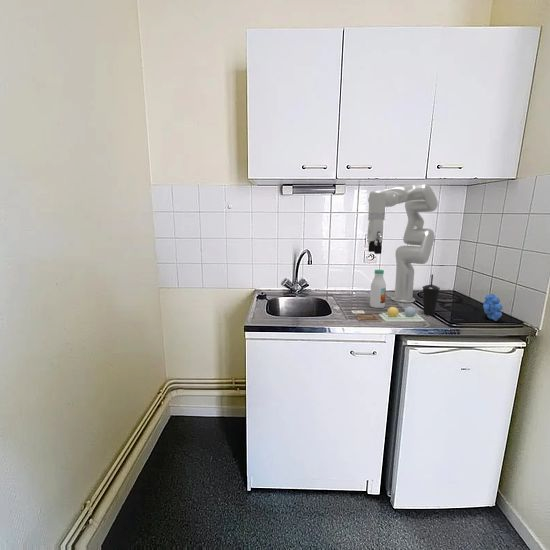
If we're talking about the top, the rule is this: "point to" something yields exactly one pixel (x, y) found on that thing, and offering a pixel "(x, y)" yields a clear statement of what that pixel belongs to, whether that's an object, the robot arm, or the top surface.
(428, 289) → the drinking cup
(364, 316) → the coaster
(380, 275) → the milk bottle
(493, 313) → the grapes
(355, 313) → the tile
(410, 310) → the slate ball
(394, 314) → the ochre ball
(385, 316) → the rack
